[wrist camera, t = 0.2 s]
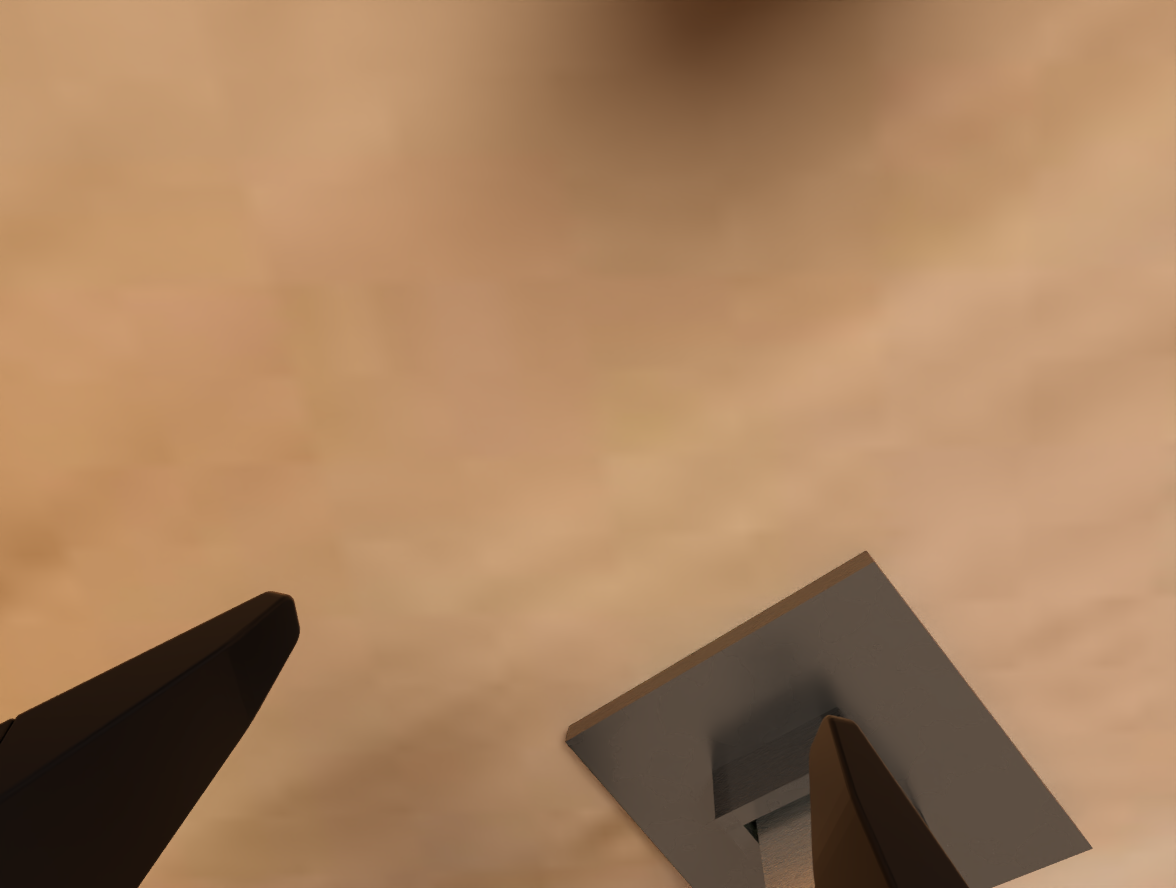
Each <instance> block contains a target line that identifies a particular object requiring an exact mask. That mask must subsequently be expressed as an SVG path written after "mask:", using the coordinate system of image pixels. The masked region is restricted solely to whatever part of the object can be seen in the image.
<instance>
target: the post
mask: <svg viewBox="0 0 1176 888" xmlns="http://www.w3.org/2000/svg"><path fill="white" fill-rule="evenodd" d="M756 823H757V830H758V837H759V844H760V851H761V858H762V866H763V873H764V880H765V887H766V888H815V884H814V875H813V863H812V841H811V811H810V794H808V795H805V796H803V797H801V798H799V799H797V800H795V801H793V802H791V803H789V804H787V805H785V806H782V807H780V808H778V809H776V810H774V811H772V812H770V813H768V814H766V815H764V816H762V817H759V818H757V819H756Z"/></svg>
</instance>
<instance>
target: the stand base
mask: <svg viewBox="0 0 1176 888" xmlns="http://www.w3.org/2000/svg"><path fill="white" fill-rule="evenodd" d="M827 715H833V716H837V717H842V718H846V719H850V720H852V721H854V722H855V723H856V724H857V725H858V726H859V728H860V729H861V731H862V732H863V734H864V735H865V737H866V738H867V739H868V741H869V742H870V744H871V745H872V747H873V748H874V750H875V751H876V752H877V754H878V755H879V757H880V758H881V760H882V761H883V763H884V764H885V766H886V767H887V768H888V770H889V771H890V773H891V774H892V776H893V777H894V779H895V780H896V781H897V783H898V784H899V786H900V787H901V789H902V790H903V792H904V793H905V795H906V796H907V797H908V799H909V800H910V802H911V803H912V805H913V806H914V808H915V809H916V810H917V812H918V813H919V815H920V816H921V818H922V819H923V821H924V822H925V824H926V825H927V826H928V828H929V829H930V831H931V832H932V834H933V835H934V837H935V838H936V839H937V841H938V842H939V844H940V845H941V847H942V848H943V850H944V851H945V853H946V854H947V855H948V857H949V858H950V860H951V861H952V863H953V864H954V866H955V867H956V868H957V870H958V871H959V873H960V874H961V876H962V877H963V879H964V880H965V882H966V883H967V884H968V886H969V887H970V888H992V887H995V886H997V885H1000V884H1003V883H1005V882H1008V881H1010V880H1013V879H1015V878H1018V877H1021V876H1023V875H1026V874H1028V873H1031V872H1033V871H1036V870H1039V869H1041V868H1044V867H1046V866H1049V865H1051V864H1054V863H1057V862H1059V861H1062V860H1064V859H1067V858H1069V857H1072V856H1075V855H1077V854H1080V853H1082V852H1085V851H1087V850H1090V849H1093V848H1092V847H1091V845H1090V844H1089V842H1088V841H1087V840H1086V838H1085V837H1084V836H1083V834H1082V833H1081V832H1080V830H1079V829H1078V828H1077V826H1076V825H1075V824H1074V822H1073V821H1072V820H1071V818H1070V817H1069V816H1068V814H1067V813H1066V812H1065V811H1064V809H1063V808H1062V807H1061V805H1060V804H1059V803H1058V801H1057V800H1056V799H1055V797H1054V796H1053V795H1052V793H1051V792H1050V791H1049V790H1048V788H1047V787H1046V786H1045V784H1044V783H1043V782H1042V780H1041V779H1040V778H1039V776H1038V775H1037V774H1036V772H1035V771H1034V770H1033V769H1032V767H1031V766H1030V765H1029V763H1028V762H1027V761H1026V759H1025V758H1024V757H1023V755H1022V754H1021V753H1020V751H1019V750H1018V749H1017V748H1016V746H1015V745H1014V744H1013V742H1012V741H1011V740H1010V738H1009V737H1008V736H1007V734H1006V733H1005V732H1004V730H1003V729H1002V728H1001V727H1000V725H999V724H998V723H997V721H996V720H995V719H994V717H993V716H992V715H991V713H990V712H989V711H988V709H987V708H986V707H985V706H984V704H983V703H982V702H981V700H980V699H979V698H978V696H977V695H976V694H975V692H974V691H973V690H972V688H971V687H970V686H969V685H968V683H967V682H966V681H965V679H964V678H963V677H962V675H961V674H960V673H959V671H958V670H957V669H956V667H955V666H954V665H953V664H952V662H951V661H950V660H949V658H948V657H947V656H946V654H945V653H944V652H943V650H942V649H941V648H940V646H939V645H938V644H937V642H936V641H935V640H934V639H933V637H932V636H931V635H930V633H929V632H928V631H927V629H926V628H925V627H924V625H923V624H922V623H921V621H920V620H919V619H918V618H917V616H916V615H915V614H914V612H913V611H912V610H911V608H910V607H909V606H908V604H907V603H906V602H905V600H904V599H903V598H902V597H901V595H900V594H899V593H898V591H897V590H896V589H895V587H894V586H893V585H892V583H891V582H890V581H889V579H888V578H887V577H886V576H885V574H884V573H883V572H882V570H881V569H880V568H879V566H878V565H877V564H876V562H875V561H874V560H873V558H872V557H871V556H870V555H869V553H868V552H867V551H865V552H863V553H862V554H860V555H858V556H856V557H855V558H853V559H851V560H850V561H848V562H846V563H845V564H843V565H841V566H840V567H838V568H836V569H835V570H833V571H831V572H829V573H828V574H826V575H824V576H823V577H821V578H819V579H818V580H816V581H814V582H813V583H811V584H809V585H807V586H806V587H804V588H802V589H801V590H799V591H797V592H796V593H794V594H792V595H791V596H789V597H787V598H786V599H784V600H782V601H780V602H779V603H777V604H775V605H774V606H772V607H770V608H769V609H767V610H765V611H764V612H762V613H760V614H758V615H757V616H755V617H753V618H752V619H750V620H748V621H747V622H745V623H743V624H742V625H740V626H738V627H737V628H735V629H733V630H731V631H730V632H728V633H726V634H725V635H723V636H721V637H720V638H718V639H716V640H715V641H713V642H711V643H709V644H708V645H706V646H704V647H703V648H701V649H699V650H698V651H696V652H694V653H693V654H691V655H689V656H688V657H686V658H684V659H682V660H681V661H679V662H677V663H676V664H674V665H672V666H671V667H669V668H667V669H666V670H664V671H662V672H660V673H659V674H657V675H655V676H654V677H652V678H650V679H649V680H647V681H645V682H644V683H642V684H640V685H639V686H637V687H635V688H633V689H632V690H630V691H628V692H627V693H625V694H623V695H622V696H620V697H618V698H617V699H615V700H613V701H611V702H610V703H608V704H606V705H605V706H603V707H601V708H600V709H598V710H596V711H595V712H593V713H591V714H590V715H588V716H586V717H584V718H583V719H581V720H579V721H578V722H576V723H574V724H573V725H571V726H569V729H568V733H567V737H566V741H565V742H566V743H567V744H568V746H569V747H570V748H571V749H572V750H573V751H574V752H575V754H576V755H577V756H578V757H579V758H580V759H581V760H582V762H583V763H584V764H585V765H586V766H587V767H588V768H589V770H590V771H591V772H592V773H593V774H594V775H595V776H596V778H597V779H598V780H599V781H600V782H601V783H602V784H603V786H604V787H605V788H606V789H607V790H608V791H609V792H610V794H611V795H612V796H613V797H614V798H615V799H616V801H617V802H618V803H619V804H620V805H621V806H622V807H623V809H624V810H625V811H626V812H627V813H628V814H629V815H630V817H631V818H632V819H633V820H634V821H635V822H636V823H637V825H638V826H639V827H640V828H641V829H642V830H643V831H644V833H645V834H646V835H647V836H648V837H649V838H650V839H651V841H652V842H653V843H654V844H655V845H656V846H657V847H658V849H659V850H660V851H661V852H662V853H663V854H664V855H665V857H666V858H667V859H668V860H669V861H670V862H671V864H672V865H673V866H674V867H675V868H676V869H677V870H678V872H679V873H680V874H681V875H682V876H683V877H684V878H685V880H686V881H687V882H688V883H689V884H690V885H691V886H692V888H766V887H765V880H764V873H763V866H762V858H761V851H760V844H759V837H758V830H757V823H756V819H757V818H759V817H762V816H764V815H766V814H768V813H770V812H772V811H774V810H776V809H778V808H780V807H782V806H785V805H787V804H789V803H791V802H793V801H795V800H797V799H799V798H801V797H803V796H805V795H808V794H810V781H809V753H810V748H811V745H812V743H813V741H814V738H815V736H816V734H817V732H818V729H819V727H820V725H821V722H822V720H823V719H824V717H825V716H827Z"/></svg>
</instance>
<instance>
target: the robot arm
mask: <svg viewBox="0 0 1176 888" xmlns="http://www.w3.org/2000/svg"><path fill="white" fill-rule="evenodd" d="M299 634H300V626H299V621H298V616H297V612H296V607H295V602H294V599H293V598H292V597H291V596H290V595H287V594H283V593H278V592H273V591H268V592H265V593H263V594H260V595H258V596H256V597H254V598H252V599H250V600H248V601H246V602H244V603H242V604H240V605H238V606H236V607H234V608H232V609H230V610H228V611H226V612H224V613H222V614H220V615H218V616H216V617H214V618H212V619H210V620H208V621H206V622H204V623H202V624H200V625H198V626H196V627H194V628H192V629H190V630H188V631H186V632H184V633H182V634H180V635H178V636H176V637H174V638H172V639H170V640H168V641H166V642H164V643H162V644H160V645H158V646H156V647H154V648H152V649H150V650H148V651H146V652H144V653H142V654H140V655H138V656H136V657H134V658H132V659H130V660H128V661H126V662H124V663H122V664H120V665H118V666H116V667H114V668H112V669H110V670H108V671H106V672H104V673H102V674H100V675H98V676H96V677H94V678H92V679H90V680H88V681H86V682H84V683H82V684H80V685H78V686H76V687H74V688H72V689H70V690H68V691H66V692H64V693H62V694H60V695H58V696H56V697H54V698H52V699H50V700H48V701H45V702H43V703H41V704H39V705H37V706H35V707H33V708H31V709H29V710H27V711H25V712H23V713H21V714H19V715H18V716H17V717H16V719H9V720H7V721H5V722H3V723H1V724H0V888H138V887H139V885H140V884H141V882H142V881H143V879H144V878H145V876H146V875H147V874H148V872H149V871H150V869H151V868H152V866H153V865H154V863H155V862H156V861H157V859H158V858H159V856H160V855H161V853H162V852H163V850H164V849H165V848H166V846H167V845H168V843H169V842H170V840H171V839H172V837H173V836H174V835H175V833H176V832H177V830H178V829H179V827H180V826H181V824H182V823H183V822H184V820H185V819H186V817H187V816H188V814H189V813H190V811H191V810H192V809H193V807H194V806H195V804H196V803H197V801H198V800H199V798H200V797H201V796H202V794H203V793H204V791H205V790H206V788H207V787H208V785H209V784H210V783H211V781H212V780H213V778H214V777H215V775H216V774H217V772H218V771H219V770H220V768H221V767H222V765H223V764H224V762H225V761H226V759H227V758H228V757H229V755H230V754H231V752H232V751H233V749H234V748H235V746H236V745H237V744H238V742H239V741H240V739H241V738H242V736H243V735H244V733H245V732H246V730H247V729H248V727H249V726H250V724H251V722H252V721H253V719H254V717H255V716H256V714H257V712H258V711H259V709H260V707H261V705H262V704H263V702H264V700H265V698H266V696H267V695H268V693H269V691H270V689H271V688H272V686H273V684H274V682H275V680H276V679H277V677H278V675H279V673H280V672H281V670H282V668H283V666H284V664H285V663H286V661H287V659H288V657H289V655H290V654H291V652H292V650H293V648H294V647H295V645H296V643H297V640H298V638H299ZM809 781H810V811H811V841H812V863H813V875H814V884H815V888H970V887H969V886H968V884H967V883H966V882H965V880H964V879H963V877H962V876H961V874H960V873H959V871H958V870H957V868H956V867H955V866H954V864H953V863H952V861H951V860H950V858H949V857H948V855H947V854H946V853H945V851H944V850H943V848H942V847H941V845H940V844H939V842H938V841H937V839H936V838H935V837H934V835H933V834H932V832H931V831H930V829H929V828H928V826H927V825H926V824H925V822H924V821H923V819H922V818H921V816H920V815H919V813H918V812H917V810H916V809H915V808H914V806H913V805H912V803H911V802H910V800H909V799H908V797H907V796H906V795H905V793H904V792H903V790H902V789H901V787H900V786H899V784H898V783H897V781H896V780H895V779H894V777H893V776H892V774H891V773H890V771H889V770H888V768H887V767H886V766H885V764H884V763H883V761H882V760H881V758H880V757H879V755H878V754H877V752H876V751H875V750H874V748H873V747H872V745H871V744H870V742H869V741H868V739H867V738H866V737H865V735H864V734H863V732H862V731H861V729H860V728H859V726H858V725H857V724H856V723H855V722H854V721H852V720H850V719H846V718H842V717H837V716H833V715H827V716H825V717H824V719H823V720H822V722H821V725H820V727H819V729H818V732H817V734H816V736H815V738H814V741H813V743H812V745H811V748H810V753H809Z"/></svg>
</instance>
